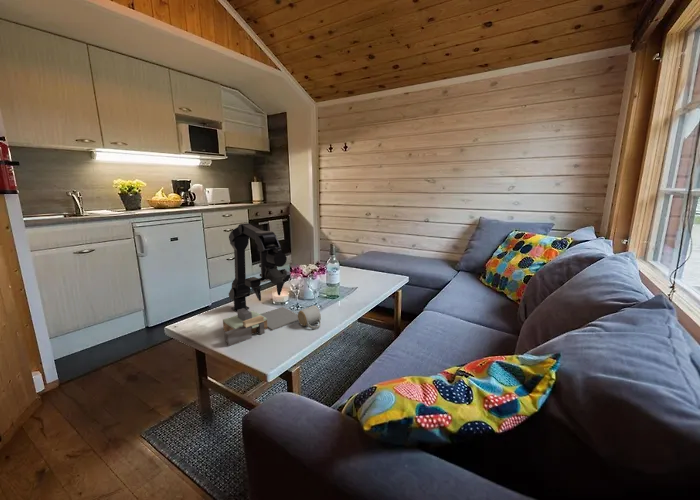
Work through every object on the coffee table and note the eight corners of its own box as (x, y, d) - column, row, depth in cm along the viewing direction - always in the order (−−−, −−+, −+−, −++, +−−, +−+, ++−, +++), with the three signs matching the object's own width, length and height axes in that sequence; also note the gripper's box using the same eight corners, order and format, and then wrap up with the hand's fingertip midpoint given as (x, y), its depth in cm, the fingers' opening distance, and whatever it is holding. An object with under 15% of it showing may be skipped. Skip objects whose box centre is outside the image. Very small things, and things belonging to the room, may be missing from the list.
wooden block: (243, 325, 129) (242, 321, 128) (260, 319, 134) (260, 315, 134) (246, 327, 127) (245, 323, 127) (263, 321, 133) (263, 317, 132)
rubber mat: (251, 318, 148) (251, 316, 148) (282, 308, 160) (282, 307, 160) (272, 330, 136) (272, 329, 136) (304, 318, 148) (304, 317, 148)
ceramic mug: (296, 323, 143) (296, 307, 141) (312, 318, 148) (311, 303, 146) (309, 332, 135) (309, 315, 133) (325, 326, 140) (325, 310, 138)
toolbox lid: (222, 321, 135) (222, 311, 135) (253, 312, 145) (252, 303, 144) (239, 332, 125) (238, 322, 124) (270, 322, 135) (270, 312, 134)
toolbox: (213, 333, 133) (212, 322, 132) (253, 320, 146) (253, 310, 145) (229, 346, 123) (228, 334, 122) (271, 330, 136) (270, 320, 135)
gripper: (257, 270, 120) (259, 309, 123) (297, 261, 133) (298, 297, 136) (242, 265, 128) (245, 301, 131) (282, 257, 141) (284, 291, 144)
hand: (269, 297), depth 135 cm, fingers open, 9 cm apart
